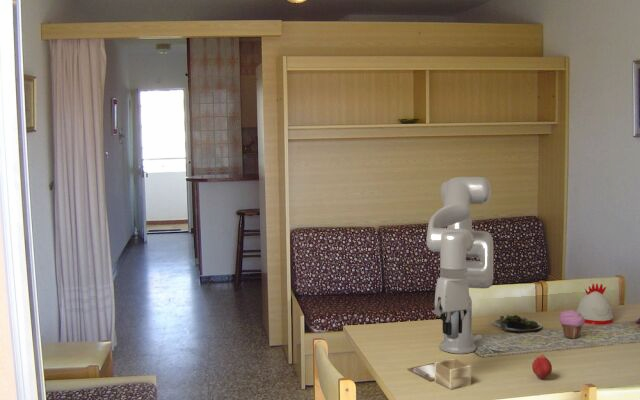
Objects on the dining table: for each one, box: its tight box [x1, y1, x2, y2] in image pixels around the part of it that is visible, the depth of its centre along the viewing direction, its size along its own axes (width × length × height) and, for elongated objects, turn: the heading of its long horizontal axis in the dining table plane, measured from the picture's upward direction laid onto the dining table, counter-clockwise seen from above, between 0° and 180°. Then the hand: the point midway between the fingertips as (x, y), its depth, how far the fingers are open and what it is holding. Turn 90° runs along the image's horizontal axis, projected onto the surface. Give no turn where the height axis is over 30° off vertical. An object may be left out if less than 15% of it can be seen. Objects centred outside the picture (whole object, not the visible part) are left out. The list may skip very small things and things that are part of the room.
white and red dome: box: [576, 283, 614, 326], centre depth 269 cm, size 14×14×15 cm
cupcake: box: [558, 310, 585, 339], centre depth 247 cm, size 9×9×10 cm
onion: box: [531, 353, 553, 380], centre depth 205 cm, size 6×6×8 cm
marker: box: [447, 311, 459, 342], centre depth 201 cm, size 4×4×10 cm
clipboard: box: [407, 359, 446, 383], centre depth 213 cm, size 16×12×1 cm
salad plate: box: [493, 314, 544, 334], centre depth 262 cm, size 19×18×5 cm
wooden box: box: [434, 358, 472, 391], centre depth 203 cm, size 8×8×6 cm
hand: (452, 332), depth 201 cm, fingers closed on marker, 3 cm apart
